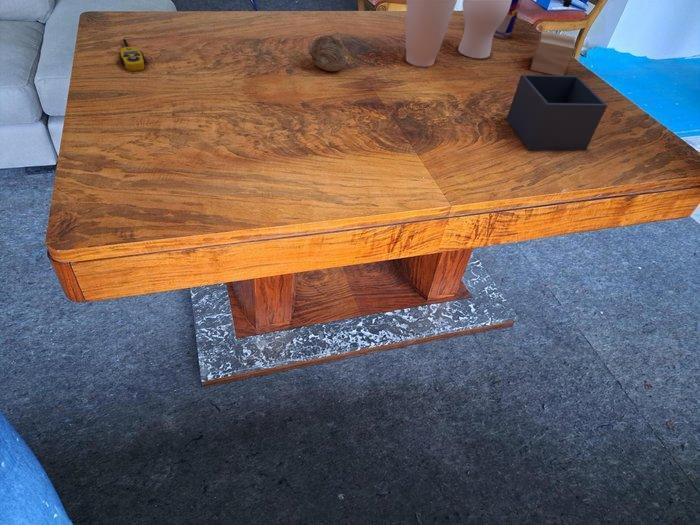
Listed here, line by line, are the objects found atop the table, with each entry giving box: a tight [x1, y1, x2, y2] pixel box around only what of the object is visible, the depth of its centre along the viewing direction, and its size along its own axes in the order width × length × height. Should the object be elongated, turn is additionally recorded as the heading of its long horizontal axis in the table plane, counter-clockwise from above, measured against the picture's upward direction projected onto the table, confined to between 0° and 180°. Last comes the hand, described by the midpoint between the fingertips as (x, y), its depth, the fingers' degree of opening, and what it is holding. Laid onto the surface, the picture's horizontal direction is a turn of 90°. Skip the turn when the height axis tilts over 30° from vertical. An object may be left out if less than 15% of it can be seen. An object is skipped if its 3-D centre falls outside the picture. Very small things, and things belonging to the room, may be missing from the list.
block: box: [530, 30, 576, 76], centre depth 126 cm, size 8×8×7 cm
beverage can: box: [494, 0, 522, 39], centre depth 136 cm, size 5×5×15 cm
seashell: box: [307, 35, 347, 72], centre depth 114 cm, size 9×7×8 cm
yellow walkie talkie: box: [118, 38, 146, 72], centre depth 111 cm, size 5×2×15 cm
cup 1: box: [404, 0, 458, 68], centre depth 119 cm, size 12×12×16 cm
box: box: [506, 74, 608, 151], centre depth 100 cm, size 12×12×10 cm
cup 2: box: [457, 0, 512, 59], centre depth 125 cm, size 11×11×16 cm
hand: (567, 3), depth 126 cm, fingers closed
